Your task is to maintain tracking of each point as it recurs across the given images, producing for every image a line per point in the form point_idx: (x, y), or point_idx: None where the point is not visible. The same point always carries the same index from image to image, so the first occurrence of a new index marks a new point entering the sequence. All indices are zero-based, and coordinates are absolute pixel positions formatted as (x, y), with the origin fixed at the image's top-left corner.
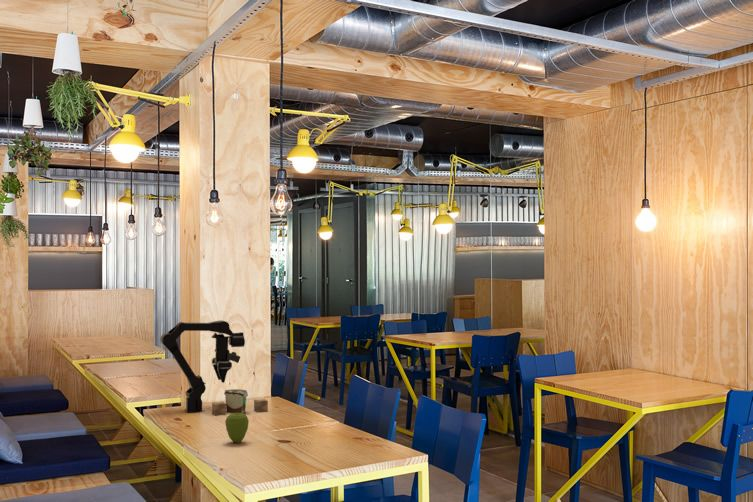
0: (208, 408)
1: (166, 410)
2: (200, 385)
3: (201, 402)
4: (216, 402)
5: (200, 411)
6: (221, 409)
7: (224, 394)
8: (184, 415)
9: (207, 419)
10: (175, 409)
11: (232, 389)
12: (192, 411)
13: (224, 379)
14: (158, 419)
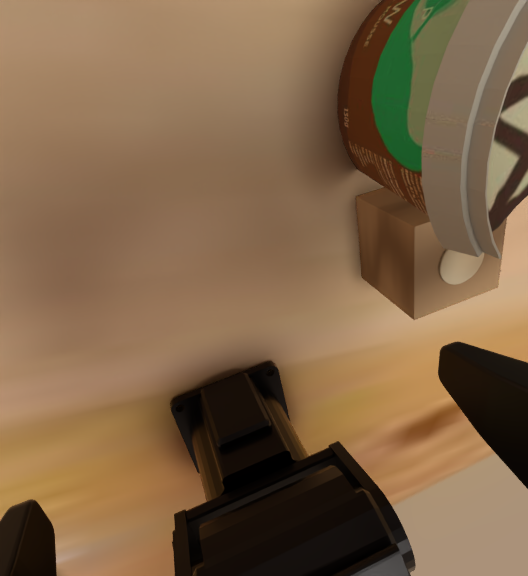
0: (133, 340)
1: (172, 555)
2: (411, 558)
3: (266, 413)
4: (415, 287)
5: (276, 368)
6: None
7: (448, 244)
8: (354, 424)
9: (513, 280)
10: (145, 528)
11: (489, 149)
12: (287, 413)
13: (522, 372)
14: (402, 495)
